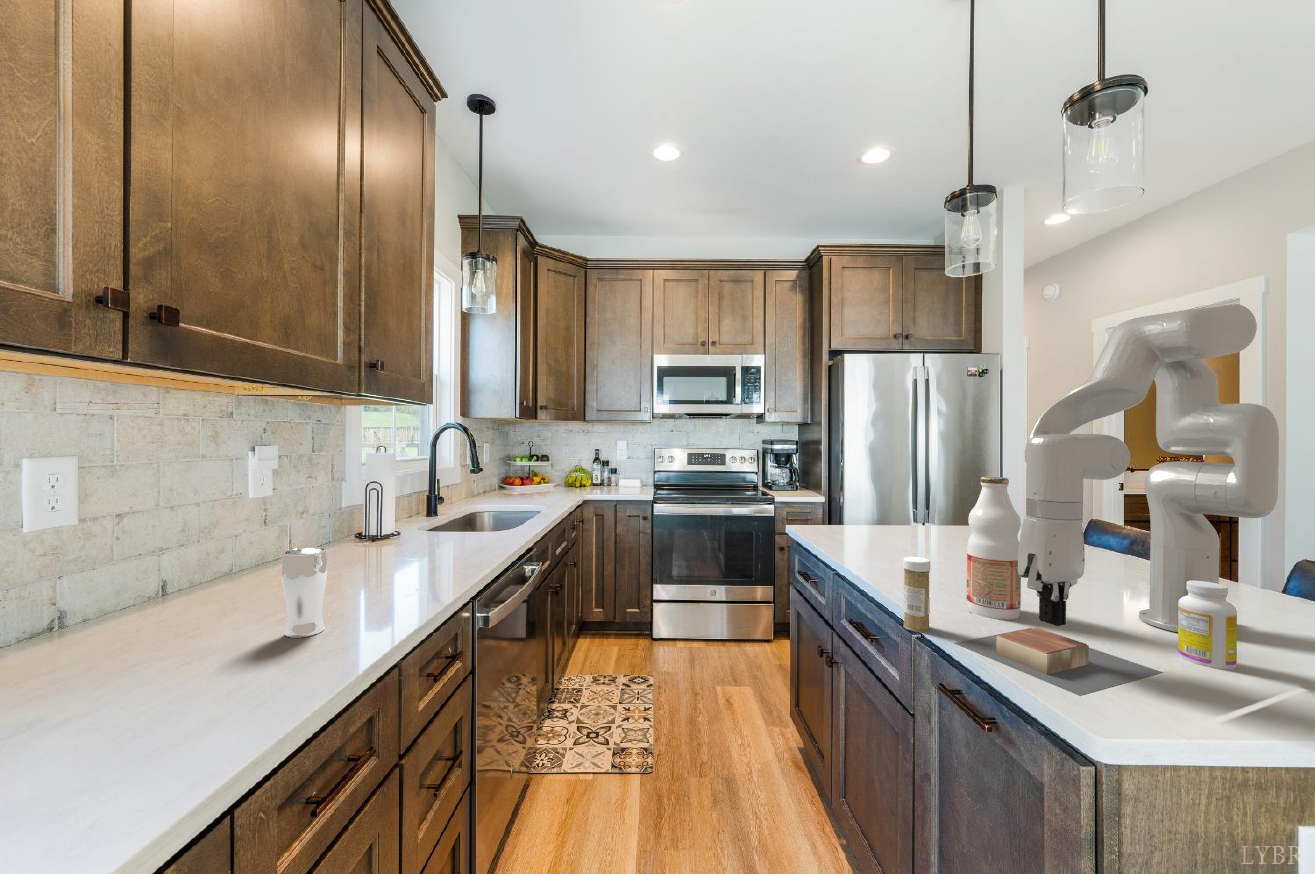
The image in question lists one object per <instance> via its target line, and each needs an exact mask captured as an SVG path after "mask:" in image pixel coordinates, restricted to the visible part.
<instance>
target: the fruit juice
mask: <svg viewBox="0 0 1315 874" xmlns="http://www.w3.org/2000/svg"><path fill="white" fill-rule="evenodd" d="M979 481H980V485H981V490H980V494H979V496H978V498H977V501H976V503H975V505H974V506H973V507H972V509H971V510H970V512H969V513H968V517H967V518H968V519H967V520H968V521H967V522H968V527H969V530H970V535H969V537H968V539H967V544H966V610H967V611H968V612H969V613H971V614H975V615H977V616H981V617H983V618H988V619H995V620H1005V621H1006V620H1008V621H1010V620H1017V619H1019V618H1020V617H1021V609H1022V608H1021V603H1022V602H1021V601H1022V595H1021V594H1022V593H1021V592H1022V577H1020V576H1019V574H1018V554H1019V543H1020V540H1019V537H1018V536H1019V533H1020V531H1021V528H1022V526H1021V525H1022V524H1021V517H1020V515H1019V514H1018V512H1017V511H1016V509H1015V508H1014V506H1013V503H1012V501H1011V498H1010V495H1009V493H1008V490H1007V489H1008V487H1009V483H1010V482H1009V478H1008V477H1002V476H981V477H980V479H979Z"/></svg>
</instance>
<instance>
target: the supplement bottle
mask: <svg viewBox="0 0 1315 874" xmlns="http://www.w3.org/2000/svg"><path fill="white" fill-rule="evenodd" d="M1186 589H1188V590H1187V591H1188V596H1184V597H1182V598H1180V599H1179V602H1178V632H1177V639H1178V640H1177V642H1178V643H1177V645H1178V646H1177V651H1178V656H1179V658H1180V659H1182V660H1184V661H1186V662H1189V663H1192V664H1195V665H1197V666H1202V667H1206V668H1211V669H1217V670H1225V671H1226V670H1235V669H1236V668H1237V664H1238V663H1237V662H1238V660H1237V659H1238V656H1237V655H1238V654H1237V653H1238V652H1237V650H1238V648H1237V644H1238V629H1237V628H1238V610H1237V608H1236V607H1235V605H1234V604H1233V603H1231V602H1229V601H1227V597H1228V595H1229V588H1228V586H1226V585H1224V584H1222V583H1221V584H1220V583H1219V584H1217V583H1211V582H1205V581H1187V587H1186Z"/></svg>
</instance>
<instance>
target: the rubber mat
mask: <svg viewBox="0 0 1315 874" xmlns="http://www.w3.org/2000/svg"><path fill="white" fill-rule="evenodd" d="M1033 628H1034V627H1033ZM1033 628H1032V627H1028V628H1023V629H1018V630H1015V631H1008V632H1004V633H999V634H998V633H997V634H993V635H987V636H982V637H977V638H972V639H967V640H963V641H957V642H953V644H954V645H957V646H959V647H962V648H964V649H966V650H968V651H971V652H974V653H976V654H978V655H980V656H983V657H986V658H988V659H991V660H993V661H995V662H998V663H1000V664H1003V665H1005V666H1007V667H1010V668H1012V669H1014V670H1016V671H1019V672H1022V673H1024V674H1026V675H1029V676H1032V677H1034V678H1035V679H1038V680H1041V681H1043V682H1046V683H1048V684H1050V685H1053V686H1055V687H1057V688H1059V689H1060V688H1061V689H1062V690H1065V691H1067V692H1070V693H1072V694H1075V695H1077V696H1079V697H1081V696H1085V695H1087V694H1088V695H1089V694H1091V693H1095V692H1099V691H1102V690H1106V689H1107V690H1108V689H1110V688H1113V687H1117V686H1120V685H1125V684H1127V683H1132V682H1135V681H1139V680H1142V679H1146V678H1149V677H1153V676H1156V675H1160V674H1163V673H1164V671H1160V670H1158V669H1154V668H1151V667H1148V666H1145V665H1142V664H1140V663H1136V662H1133V661H1131V660H1128V659H1124V658H1121V657H1119V656H1116V655H1113V654H1109V653H1107V652H1104V651H1101V650H1098V649H1095V648H1092V647H1089V655H1088V665H1084V666H1080V667H1076V668H1071V669H1067V670H1063V671H1059V672H1055V673H1051V674H1047V675H1046V674H1044V673H1041V672H1039V671H1036V670H1034V669H1031V668H1029V667H1027V666H1024V665H1022V664H1019V663H1017V662H1014V661H1012V660H1009V659H1007V658H1004V657H1002V656H999V655H997V654H996V638H997V636H999V635H1002V634H1007V633H1013V632H1018V631H1023V630H1028V629H1033Z"/></svg>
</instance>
